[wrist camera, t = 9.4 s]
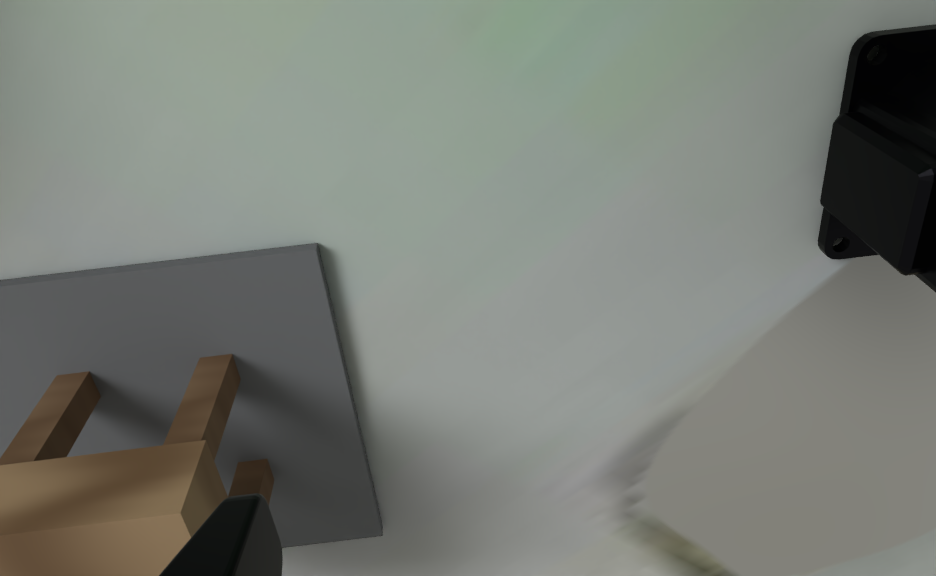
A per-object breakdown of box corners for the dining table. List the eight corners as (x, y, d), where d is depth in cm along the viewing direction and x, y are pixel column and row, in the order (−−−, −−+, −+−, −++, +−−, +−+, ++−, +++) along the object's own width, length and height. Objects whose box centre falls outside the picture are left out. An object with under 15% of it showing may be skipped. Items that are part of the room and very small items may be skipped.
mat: (317, 242, 21) (316, 249, 21) (382, 527, 27) (382, 535, 27) (-99, 291, 21) (-107, 299, 21) (62, 565, 27) (57, 574, 27)
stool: (239, 344, 22) (180, 513, 16) (285, 485, 25) (248, 667, 20) (43, 369, 22) (-84, 545, 16) (112, 506, 25) (26, 695, 20)
